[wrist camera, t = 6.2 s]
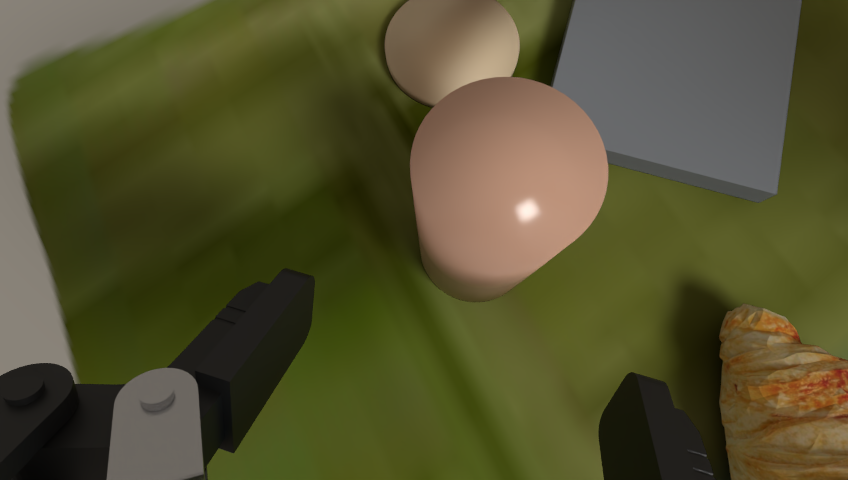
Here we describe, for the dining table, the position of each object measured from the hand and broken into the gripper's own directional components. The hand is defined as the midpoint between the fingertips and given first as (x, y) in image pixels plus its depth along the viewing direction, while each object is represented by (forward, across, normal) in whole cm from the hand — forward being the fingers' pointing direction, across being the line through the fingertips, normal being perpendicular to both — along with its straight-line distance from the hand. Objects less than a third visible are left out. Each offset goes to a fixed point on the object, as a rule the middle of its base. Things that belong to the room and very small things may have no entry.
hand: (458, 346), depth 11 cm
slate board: (+19, -7, -6) cm, 21 cm away
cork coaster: (+17, +4, -4) cm, 18 cm away
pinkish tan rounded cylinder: (+10, 0, +3) cm, 11 cm away
